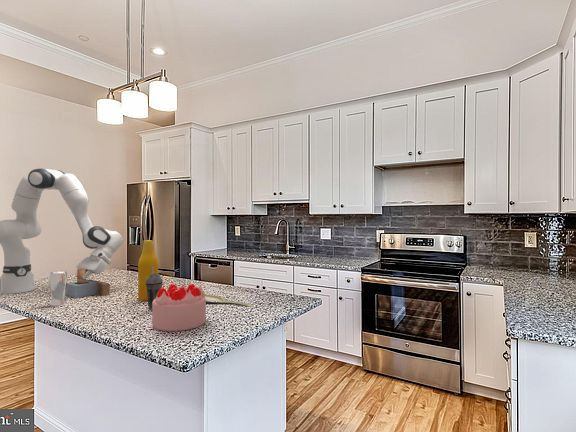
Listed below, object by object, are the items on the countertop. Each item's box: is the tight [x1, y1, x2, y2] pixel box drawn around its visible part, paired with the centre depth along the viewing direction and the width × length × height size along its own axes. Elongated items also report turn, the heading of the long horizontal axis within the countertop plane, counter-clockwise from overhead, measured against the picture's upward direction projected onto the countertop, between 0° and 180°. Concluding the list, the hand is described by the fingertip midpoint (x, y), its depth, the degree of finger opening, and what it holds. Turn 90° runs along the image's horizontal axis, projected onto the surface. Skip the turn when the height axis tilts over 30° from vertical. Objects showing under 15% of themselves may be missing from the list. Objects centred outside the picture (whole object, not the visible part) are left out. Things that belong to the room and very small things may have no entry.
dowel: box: [76, 268, 87, 285], centre depth 179 cm, size 4×4×10 cm
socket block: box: [66, 281, 98, 299], centre depth 179 cm, size 10×10×6 cm
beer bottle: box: [137, 239, 159, 302], centre depth 170 cm, size 9×9×29 cm
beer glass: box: [48, 270, 68, 307], centre depth 159 cm, size 7×7×15 cm
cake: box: [151, 283, 207, 332], centre depth 132 cm, size 20×20×14 cm
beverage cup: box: [145, 264, 164, 311], centre depth 153 cm, size 7×7×20 cm
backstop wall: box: [86, 279, 110, 297], centre depth 183 cm, size 20×3×6 cm, turn 56°
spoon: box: [204, 294, 255, 308], centre depth 163 cm, size 35×11×2 cm, turn 67°
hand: (80, 278), depth 178 cm, fingers closed on dowel, 4 cm apart
